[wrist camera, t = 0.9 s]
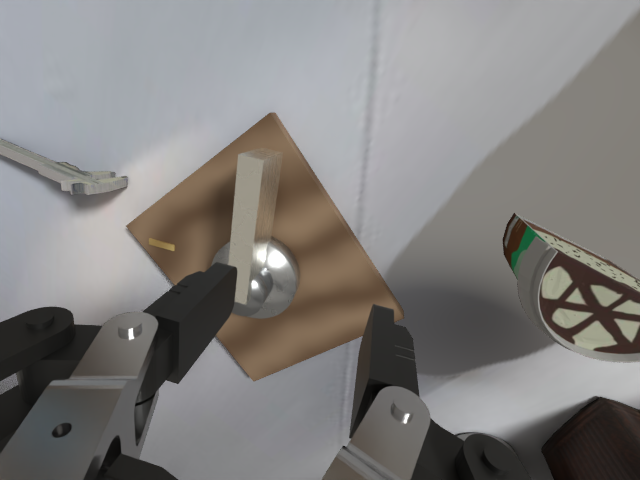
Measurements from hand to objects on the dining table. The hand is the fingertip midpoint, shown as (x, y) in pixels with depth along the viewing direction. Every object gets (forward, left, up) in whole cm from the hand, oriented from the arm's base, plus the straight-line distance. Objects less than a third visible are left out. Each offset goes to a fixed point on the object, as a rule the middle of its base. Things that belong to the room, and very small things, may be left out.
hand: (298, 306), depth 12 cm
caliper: (+21, +28, -22) cm, 41 cm away
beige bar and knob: (+1, +10, -20) cm, 22 cm away
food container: (-15, -11, -22) cm, 29 cm away
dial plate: (-2, +13, -21) cm, 25 cm away
